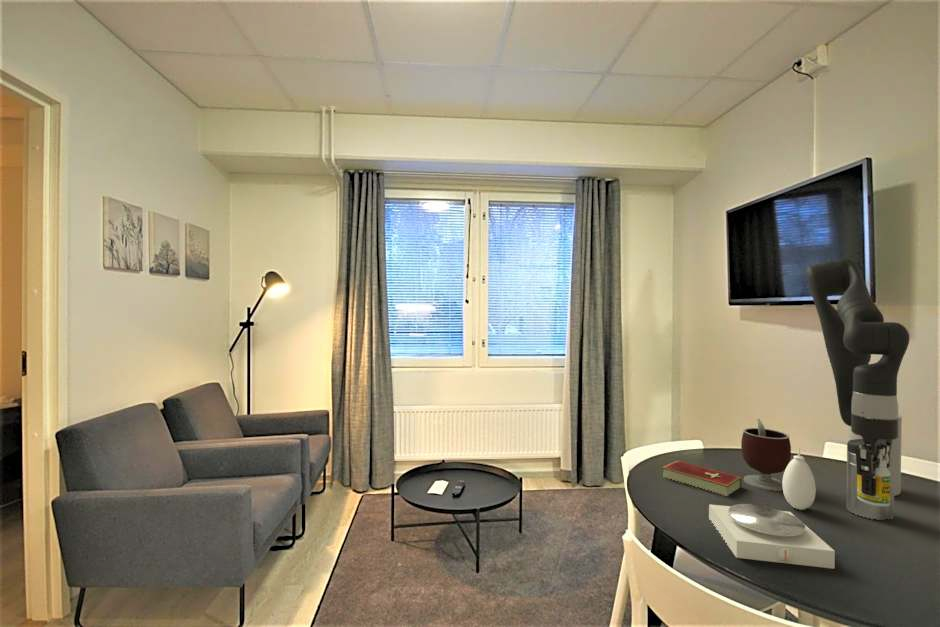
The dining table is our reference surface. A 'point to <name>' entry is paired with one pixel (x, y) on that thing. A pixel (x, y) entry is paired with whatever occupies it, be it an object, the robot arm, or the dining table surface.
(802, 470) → the white rubber air blower
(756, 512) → the scale pan
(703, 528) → the dining table surface
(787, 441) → the mate gourd
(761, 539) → the scale base
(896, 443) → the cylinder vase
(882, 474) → the supplement bottle
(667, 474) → the hardcover book
